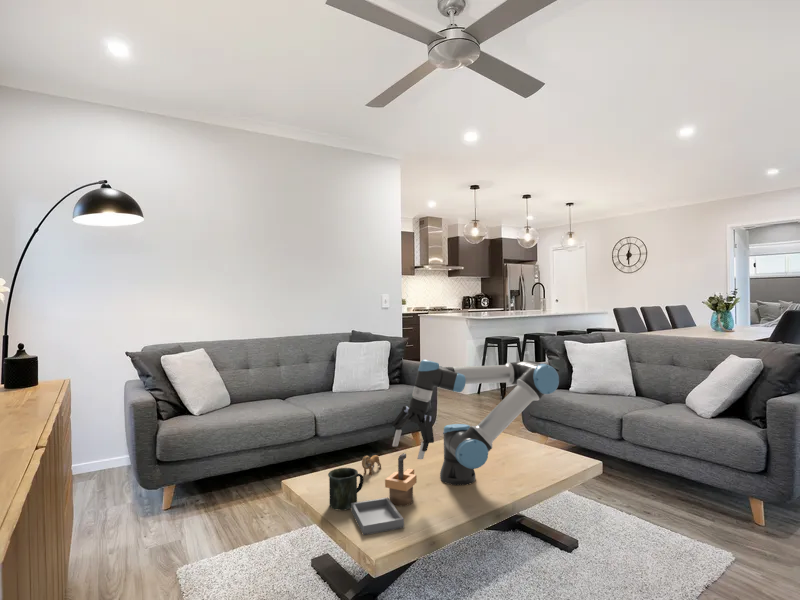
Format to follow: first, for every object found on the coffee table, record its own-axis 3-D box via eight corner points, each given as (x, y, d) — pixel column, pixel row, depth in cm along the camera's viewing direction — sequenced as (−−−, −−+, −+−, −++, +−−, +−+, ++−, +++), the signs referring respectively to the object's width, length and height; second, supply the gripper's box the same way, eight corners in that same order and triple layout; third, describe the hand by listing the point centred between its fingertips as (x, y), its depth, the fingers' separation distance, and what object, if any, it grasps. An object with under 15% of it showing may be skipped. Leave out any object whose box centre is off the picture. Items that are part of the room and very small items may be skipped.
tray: (387, 505, 164) (387, 497, 164) (403, 527, 147) (403, 518, 147) (351, 511, 160) (351, 503, 160) (363, 535, 143) (363, 525, 143)
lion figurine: (370, 478, 190) (370, 458, 191) (359, 477, 192) (359, 456, 192) (383, 467, 204) (383, 447, 204) (372, 466, 206) (372, 446, 206)
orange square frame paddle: (401, 474, 179) (401, 467, 179) (421, 478, 175) (421, 470, 175) (385, 487, 166) (385, 479, 166) (406, 491, 162) (406, 483, 162)
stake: (395, 494, 174) (395, 449, 174) (416, 498, 170) (416, 452, 171) (385, 503, 166) (384, 456, 166) (406, 507, 162) (406, 460, 162)
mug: (322, 504, 166) (322, 472, 166) (354, 493, 175) (354, 463, 175) (338, 514, 157) (338, 480, 158) (371, 502, 167) (370, 470, 167)
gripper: (392, 389, 179) (378, 441, 177) (439, 408, 162) (425, 465, 160) (404, 391, 184) (391, 440, 183) (451, 409, 167) (437, 464, 166)
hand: (407, 452), depth 171 cm, fingers open, 13 cm apart
